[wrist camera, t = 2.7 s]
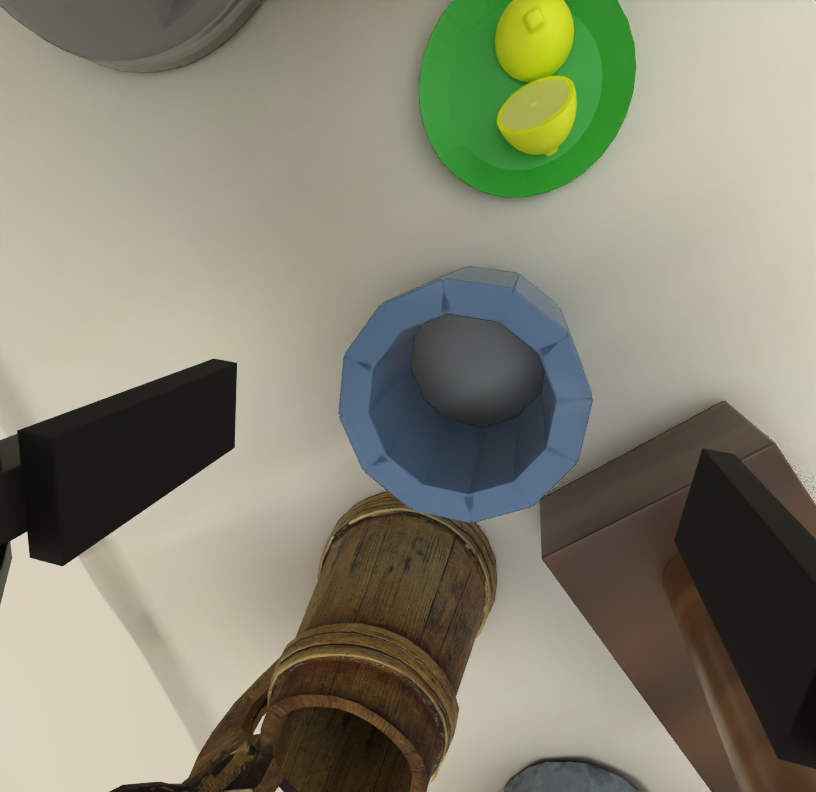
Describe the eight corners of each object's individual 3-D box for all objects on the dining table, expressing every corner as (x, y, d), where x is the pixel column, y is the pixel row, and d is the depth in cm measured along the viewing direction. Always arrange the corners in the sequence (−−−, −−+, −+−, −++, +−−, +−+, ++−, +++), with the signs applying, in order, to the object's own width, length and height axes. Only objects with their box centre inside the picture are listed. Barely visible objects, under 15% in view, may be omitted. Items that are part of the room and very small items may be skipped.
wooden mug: (233, 530, 30) (-151, 908, 13) (463, 471, 26) (337, 905, 9) (295, 662, 32) (26, 1148, 15) (520, 626, 28) (502, 1232, 11)
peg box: (538, 499, 26) (555, 1034, 8) (724, 399, 23) (1333, 914, 5) (696, 719, 27) (983, 1556, 10) (890, 652, 24) (1787, 1690, 7)
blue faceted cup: (400, 256, 24) (350, 264, 17) (591, 283, 22) (616, 302, 16) (381, 429, 26) (331, 493, 20) (551, 462, 25) (559, 542, 18)
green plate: (666, 130, 20) (686, 115, 18) (474, 234, 23) (467, 234, 20) (580, -85, 19) (588, -136, 16) (387, 49, 22) (367, 23, 19)
